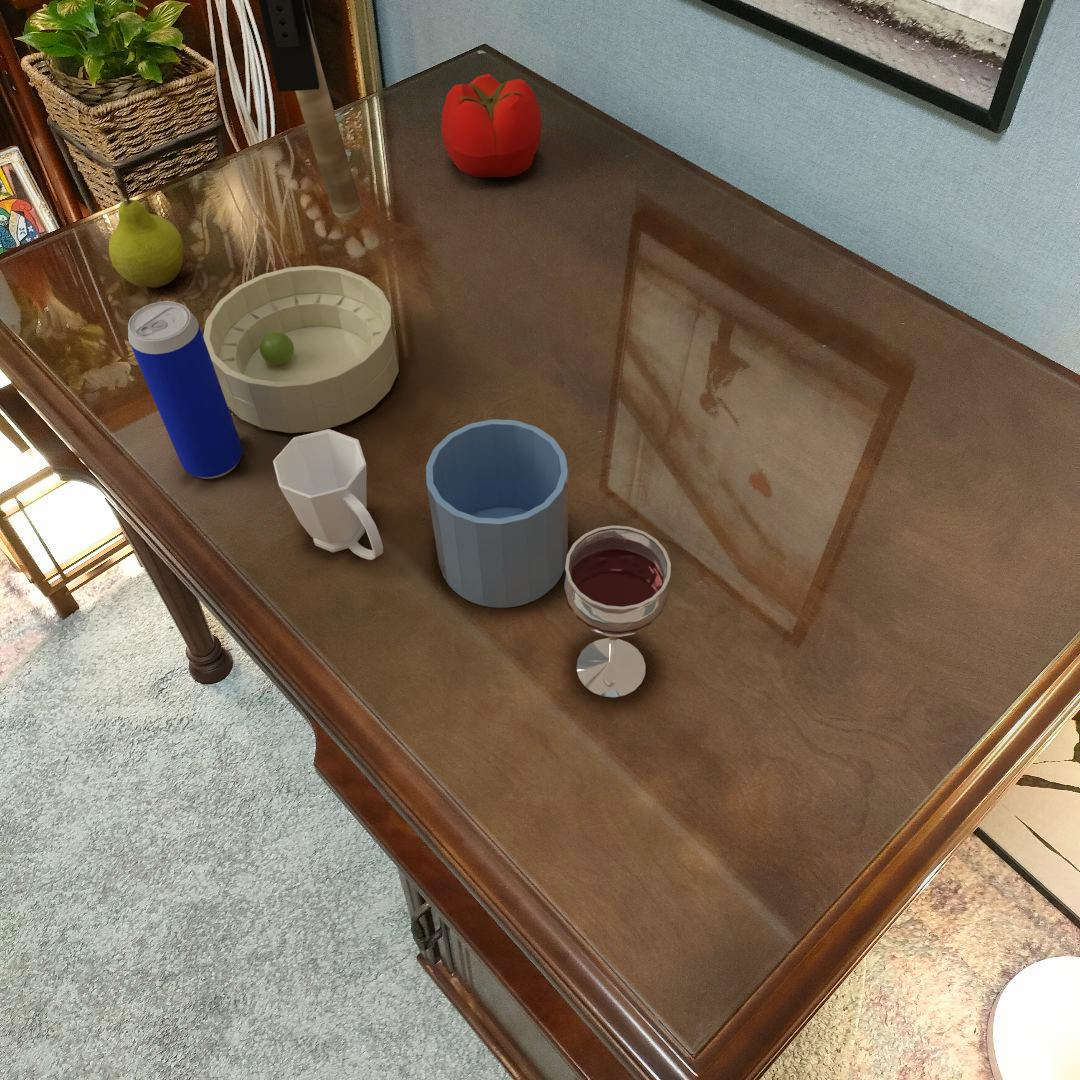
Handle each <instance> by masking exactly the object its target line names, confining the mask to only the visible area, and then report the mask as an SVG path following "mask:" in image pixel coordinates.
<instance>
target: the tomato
mask: <svg viewBox="0 0 1080 1080" xmlns="http://www.w3.org/2000/svg"><path fill="white" fill-rule="evenodd" d="M542 128H543V123H542V114H541V108H540V105H539V102H538V100H537V97H536V94H535V93H534V91H533V89H532V88H531V86H530V85H529V84H527V82H526V81H525V80H523V79H520V78H517V79H512V80H511V79H508V80H506V81H503V82H502V83H501V82H499V80H497V79H496V78H495V77H494V76H493V75H491V74H490V73H486V74H482V75H478V76H476V77H475V78H474V79H473V80H472V81H471V82H468V84H467V83H459V84H454V85H453V86H452V87H451V89H450V90H449V91H448V92H447V94H446V97H445V102H444V105H443V108H442V113H441V135H442V139H443V140H442V141H443V144H444V145H443V146H444V148H445V150H446V152H447V154H448V156H449V158H450V159H451V161H452V162H453V164H455V166H456V168H457V169H458V171H459V170H460V172H462V173H464V174H466V175H468V176H469V177H470V176H471V177H475V178H510V177H511V178H512V177H514V176H519V175H520V174H522V173H524V172H525V171H528V169H529V168H530V167H531V166H532V163H533V160H534V157H535V154H536V153H537V152H538V149H539V146H540V143H541V139H542V130H543V129H542Z"/></svg>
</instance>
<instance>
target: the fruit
mask: <svg viewBox="0 0 1080 1080" xmlns="http://www.w3.org/2000/svg"><path fill="white" fill-rule="evenodd" d="M113 184H114V186H116V187H117V188H118V189H119V191H120V192H122V193H123V195H124V197H125V200H123V201H122V202H121V203H120V204H119V207H118V209H117V214H118V223H117V226H116V227H115V228H114V230H113V232H112V234H111V236H110V238H109V241H108V253H109V254H108V255H109V258H110V259H109V260H110V261H111V264H112V266H113V268H114V269H115V270H116V272H117V273H118V274H119V275H120V276H121V277H122V278H123V279H124V280H126V281H127V282H129V283H130V284H132V285H133V286H136V287H141V288H142V287H143V288H152V289H156V288H161V287H163V286H167V285H168V284H170V283H172V282H173V281H174V280H175V279H176V277H177V276H178V275H179V273H180V271H181V269H182V266H183V261H184V252H185V251H184V243H183V239H182V235H181V233H180V231H179V230H178V229H177V227H176V226H175V225H174V224H173V223H172V222H171V221H169V220H168V219H166V218H165V217H162V216H159V215H156V214H152V213H149V212H148V211H147V209H146V208H145V207H144V205H143V204H142V203H141V202H140V201H138V200H136V199H130V197H129V196H128V194H127V193H126V191H125V190H124V189H123V187H122V186H121V185H120V184H119V182H117V181H115V182H113Z"/></svg>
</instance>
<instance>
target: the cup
mask: <svg viewBox="0 0 1080 1080" xmlns="http://www.w3.org/2000/svg"><path fill="white" fill-rule="evenodd" d="M272 463H273V467H274V471H275V476H276V479H277V483H278V488H280V490H281V492H282V494H283V496H284V497H285V499H286V501H287V502H288V504H289V505H290V508H291V509H292V511H293V513H294V514H295V517H296V518H297V520H298V523H299V524H300V525H301V526H302V527H303V528H304V530H305V531H306V532H307V533H308V535H309V536H310V537H311V538H312V539H313V544H314V546H316V547H318V548H320V549H323V550H326V551H328V552H330V553H336V552H340V551H343V550H346V549H349V550H350V551H351V552H352V554H354V555H356V556H358V557H360V558H362V559H365V560H368V561H373V560H374V559H376V558H378V557H379V556H381V555H382V554H384V545H383V542H382V541H383V540H382V538H381V534H380V532H379V530H378V527H377V524H376V522H375V521H374V519H373V517H372V516H371V513H370V512H369V511H368V510H367V509H368V508H367V503H368V502H367V501H368V500H367V461H366V459H365V456H364V453H363V449H362V446H361V444H360V440H359V439H358V438H354V437H352V436H349V435H346V434H343V433H341V432H338V431H335V430H333V429H331V428H328V429H324V430H320V431H314V432H311V433H307V434H303V435H298V436H294V437H293V438H292V439H291V440H290V441H289V442H288V443H287V444H286V445H285V446H284V448H283V449H282V450H281V451H280V452H279V453H278V454H277V455H276V457H275V458H274V459H273V460H272ZM365 533H366V534H367V537H368V540H369V542H370V546H371V549H368V548H366V547H365V546H362V545H361V544H360V543H359V540H360V539H361V538H362V536H363V535H364V534H365Z"/></svg>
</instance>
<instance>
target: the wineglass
mask: <svg viewBox="0 0 1080 1080" xmlns="http://www.w3.org/2000/svg"><path fill="white" fill-rule="evenodd" d="M671 563H672V562H671V560H670V557H669V554H668V551H667V550H666V549H665V548H664V546H663V545H662V544H661V543H660V542H659V540H658V539H656V538H655V537H653V536H652V535H650V534H649V533H647V532H646V531H644V530H641V529H638V528H635V527H631V526H628V525H627V526H626V525H608V526H603V527H602V526H601V527H597V528H594V529H593V530H591V531H588V532H586V533H584V534H583V535H582V536H580V537H579V538H578V539H577V540H575V542H573V544H572V545H571V547H570V549H569V550H568V554H567V558H566V565H565V569H564V571H565V578H564V585H563V588H564V592H563V593H564V597H565V599H566V604H567V607H568V608H569V609H570V611H571V612H572V614H573V615H574V616H575V618H576V619H577V620H578V621H579V622H580V623H581V624H582V625H583V626H584V627H586V628H587V629H589V630H590V631H593V632H595V633H597V634H600V635H602V636H607V638H606V637H605V638H602V639H597V640H595V641H593V642H591V643H588V645H586V646H585V648H583V649H582V650H581V652H580V654H579V656H578V658H577V661H576V672H577V677H578V679H579V680H580V681H581V683H582V685H583V686H584V687H585V688H586V689H587V690H589V691H590V692H591V693H594V694H596V695H599V696H601V697H604V698H605V697H606V698H619V697H625V696H626V695H628V694H631V693H632V692H634V691H636V690H637V689H638V687H639V686H640V685H642V683H643V680H644V679H645V676H646V669H647V668H646V667H647V666H646V663H645V659H644V656H643V655H642V653H641V652H640V650H639V649H638V648H637V647H636V646H634V645H633V644H631V643H630V642H628V641H626V640H623V639H620V638H622V637H626V636H632V635H635V634H638V633H640V632H642V631H644V630H645V629H648V628H649V627H650V625H652V624H653V623H654V622H655V621H656V620H657V619H658V618H659V617H660V616H661V614H662V612H663V611H664V608H665V606H666V604H667V601H668V599H669V596H670V581H669V580H670V578H671V571H672V570H671V568H672V567H671V566H672V564H671Z"/></svg>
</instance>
